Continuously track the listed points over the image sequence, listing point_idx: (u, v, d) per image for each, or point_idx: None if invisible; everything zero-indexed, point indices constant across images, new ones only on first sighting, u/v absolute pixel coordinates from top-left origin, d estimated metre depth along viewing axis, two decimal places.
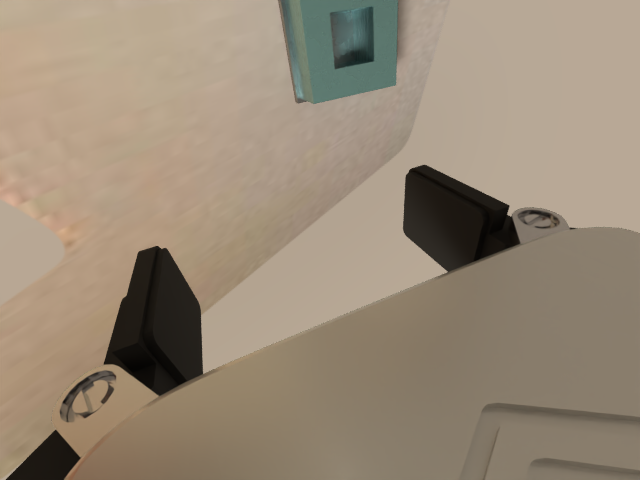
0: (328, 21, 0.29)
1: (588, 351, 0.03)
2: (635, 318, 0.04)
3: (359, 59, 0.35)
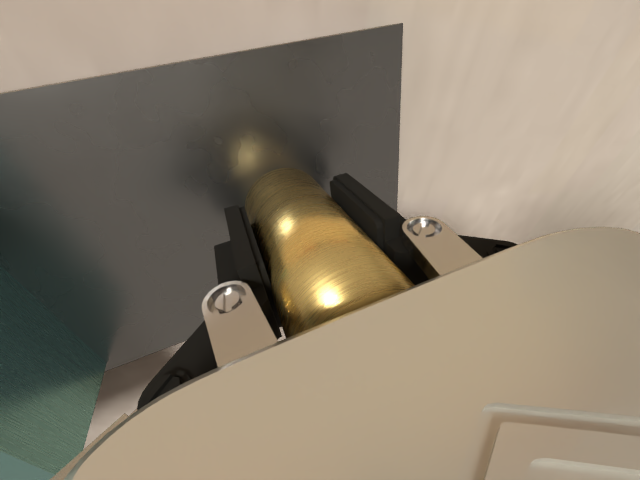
0: None
1: (588, 351, 0.03)
2: (635, 318, 0.04)
3: None
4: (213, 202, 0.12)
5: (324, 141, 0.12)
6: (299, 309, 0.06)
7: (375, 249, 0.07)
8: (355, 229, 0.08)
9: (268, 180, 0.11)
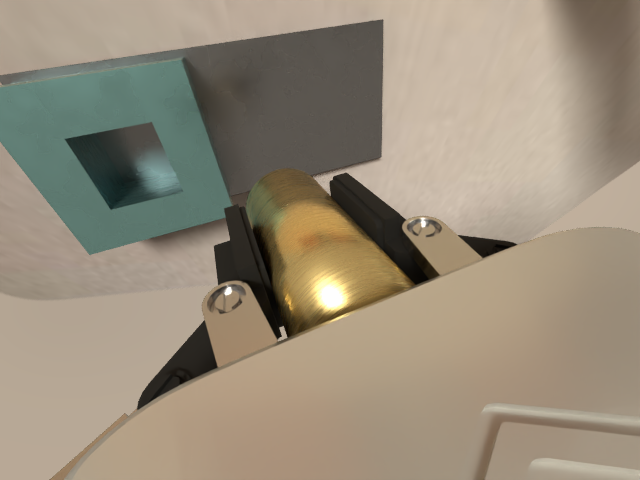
0: (139, 120, 0.18)
1: (588, 351, 0.03)
2: (635, 318, 0.04)
3: (123, 189, 0.23)
4: (293, 101, 0.25)
5: (345, 75, 0.25)
6: (301, 309, 0.06)
7: (377, 250, 0.07)
8: (357, 230, 0.08)
9: (269, 181, 0.11)
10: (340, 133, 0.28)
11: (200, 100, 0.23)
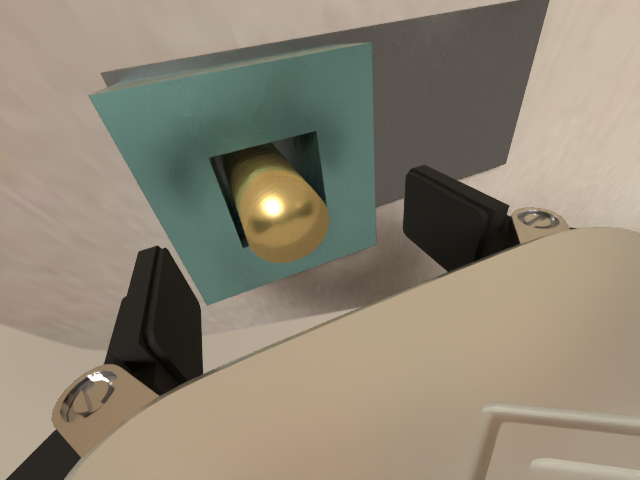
0: (302, 129, 0.13)
1: (588, 351, 0.03)
2: (635, 318, 0.04)
3: (236, 216, 0.18)
4: (433, 100, 0.20)
5: (495, 66, 0.20)
6: (248, 202, 0.11)
7: (297, 175, 0.13)
8: (289, 167, 0.13)
9: None
10: (472, 137, 0.23)
11: None
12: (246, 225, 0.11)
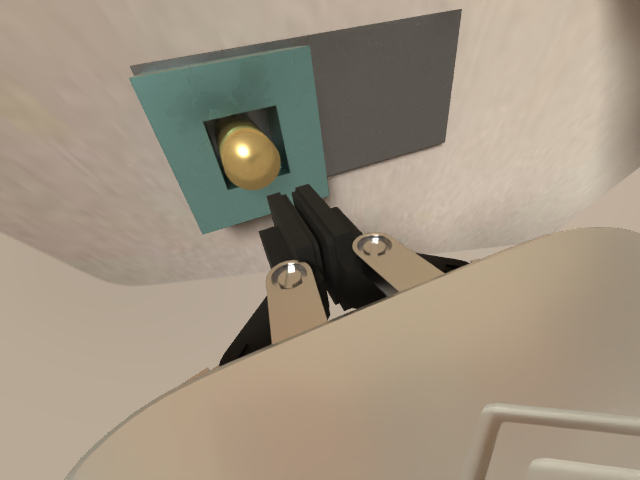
0: (265, 103, 0.19)
1: (588, 351, 0.03)
2: (635, 318, 0.04)
3: (224, 173, 0.24)
4: (375, 88, 0.26)
5: (423, 62, 0.27)
6: (225, 145, 0.18)
7: (259, 131, 0.19)
8: (255, 127, 0.20)
9: (225, 116, 0.23)
10: (412, 119, 0.29)
11: None
12: (223, 158, 0.17)
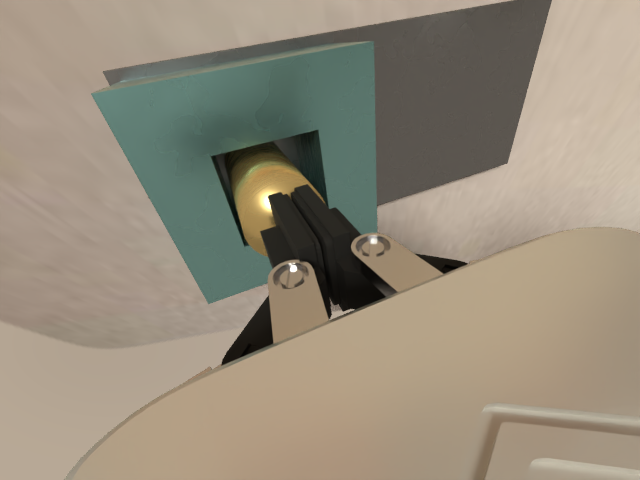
0: (304, 127, 0.13)
1: (588, 351, 0.03)
2: (635, 318, 0.04)
3: (238, 215, 0.18)
4: (435, 99, 0.20)
5: (497, 65, 0.20)
6: (244, 195, 0.11)
7: (295, 170, 0.12)
8: (288, 162, 0.13)
9: None
10: (473, 136, 0.23)
11: None
12: (242, 218, 0.11)
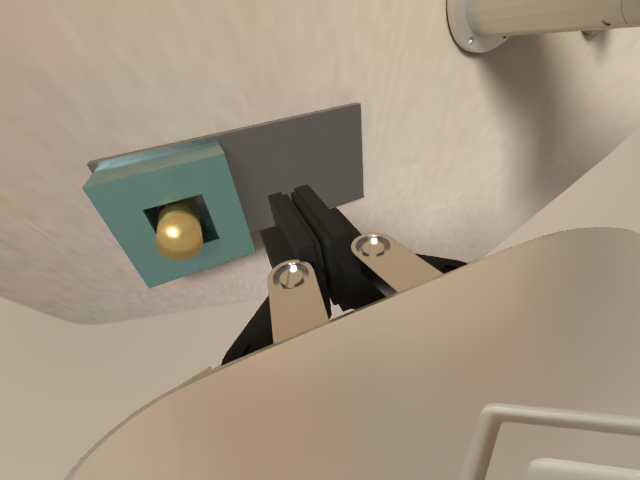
0: (193, 193, 0.25)
1: (588, 351, 0.03)
2: (635, 318, 0.04)
3: None
4: (295, 163, 0.33)
5: (334, 142, 0.34)
6: (158, 230, 0.24)
7: (187, 216, 0.25)
8: (186, 211, 0.26)
9: None
10: (331, 182, 0.36)
11: None
12: None
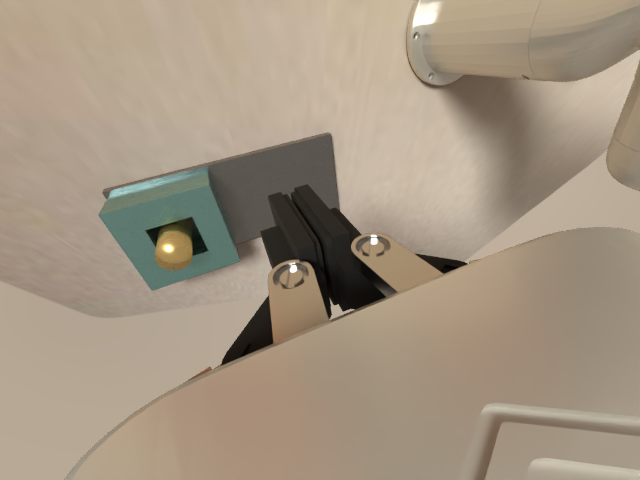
0: (185, 216, 0.31)
1: (588, 351, 0.03)
2: (635, 318, 0.04)
3: None
4: (275, 185, 0.39)
5: (309, 166, 0.39)
6: (156, 247, 0.30)
7: (180, 235, 0.31)
8: (179, 230, 0.32)
9: None
10: None
11: (216, 191, 0.36)
12: None
